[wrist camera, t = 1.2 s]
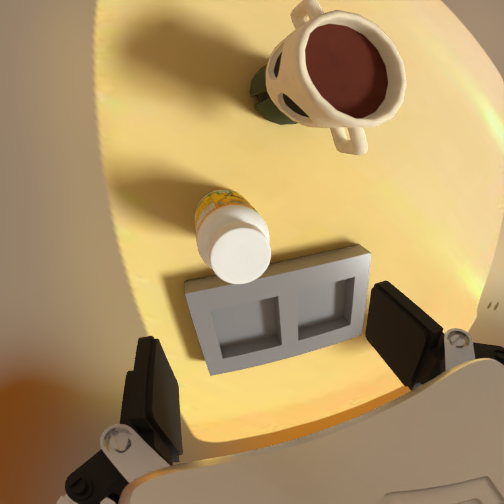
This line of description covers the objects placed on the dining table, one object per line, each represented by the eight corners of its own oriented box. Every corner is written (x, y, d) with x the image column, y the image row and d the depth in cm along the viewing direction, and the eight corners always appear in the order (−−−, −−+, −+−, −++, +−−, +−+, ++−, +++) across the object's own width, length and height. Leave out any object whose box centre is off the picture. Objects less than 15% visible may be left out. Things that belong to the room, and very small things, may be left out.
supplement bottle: (183, 222, 26) (181, 267, 17) (217, 176, 25) (233, 198, 16) (228, 252, 28) (246, 306, 19) (261, 210, 27) (297, 247, 18)
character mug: (226, 52, 20) (262, -14, 9) (297, 38, 21) (373, -14, 9) (265, 157, 25) (330, 178, 13) (330, 136, 25) (424, 147, 14)
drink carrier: (184, 281, 28) (184, 293, 26) (359, 244, 31) (371, 252, 29) (208, 361, 33) (210, 375, 31) (352, 324, 36) (361, 334, 34)
